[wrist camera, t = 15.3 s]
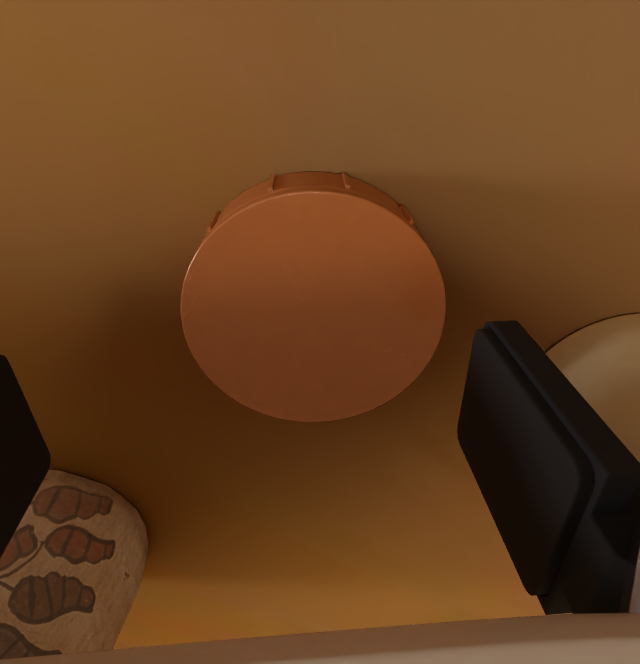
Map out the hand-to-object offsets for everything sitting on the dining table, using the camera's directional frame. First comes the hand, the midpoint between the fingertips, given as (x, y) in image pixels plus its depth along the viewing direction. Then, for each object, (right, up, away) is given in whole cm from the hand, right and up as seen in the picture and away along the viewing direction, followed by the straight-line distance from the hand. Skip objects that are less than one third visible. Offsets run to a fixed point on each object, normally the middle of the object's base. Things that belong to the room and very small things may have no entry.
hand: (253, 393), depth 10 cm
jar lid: (+1, +2, +3) cm, 3 cm away
